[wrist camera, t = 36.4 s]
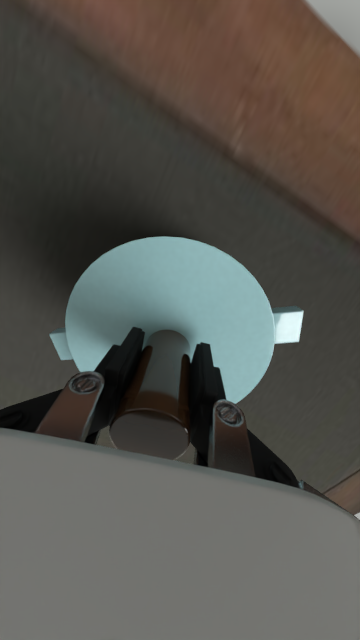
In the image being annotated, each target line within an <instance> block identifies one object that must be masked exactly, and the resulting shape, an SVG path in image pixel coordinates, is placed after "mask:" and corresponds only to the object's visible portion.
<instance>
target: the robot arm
mask: <svg viewBox="0 0 360 640" xmlns="http://www.w3.org/2000/svg"><path fill="white" fill-rule="evenodd" d="M144 336H145V332H144V331H142V329H141V328H137V327H132V329H131V330H130V332H129V333H128V335H127V336H126V338H125V339H124V341H123V342H122V344H121V345H115V344H114V345H112V347H111V348H110V349H109V351H108V352H107V354H106V355H105V356H104V358H103V359H102V360H101V362H100V363H99V364H98V366H97V367H96V369H95V370H94V371H84V372H80V373H78V374H76V375H74V376H72V377H71V379H70V380H69V381H68V382H67V384H66V385H65V387H64V388H63V389H61V390H58V391H55V392H52V393H49V394H46V395H43V396H40V397H37V398H33V399H30V400H27V401H24V402H21V403H18V404H15V405H12V406H9V407H6V408H4V409H1V410H0V640H360V520H359V519H357V518H356V517H355V516H354V515H352V514H351V513H349V512H348V511H346V510H345V509H344V508H342V507H341V506H339V505H338V504H336V503H335V502H333V501H332V500H330V499H329V498H327V497H326V496H325V495H323V494H322V493H320V492H319V491H317V490H316V489H314V488H313V487H311V486H310V485H308V484H307V483H306V482H304V481H303V480H301V481H300V482H299V481H297V479H296V477H295V475H294V474H293V472H292V471H291V469H290V468H289V467H288V466H287V465H286V464H285V463H284V462H283V461H282V460H281V459H280V458H279V457H277V456H276V455H275V454H274V453H273V452H272V451H271V450H270V449H269V448H268V447H267V446H266V445H264V444H263V443H262V442H261V441H260V440H259V439H258V438H257V437H256V436H255V435H254V434H252V433H251V432H250V431H249V430H248V429H247V426H246V420H245V416H244V413H243V412H242V410H241V409H240V408H239V407H238V406H237V405H236V404H234V403H233V402H231V401H228V400H226V395H225V390H224V386H223V381H222V376H221V372H220V368H219V367H214V365H213V359H212V353H211V347H210V344H207V343H203V342H201V343H200V344H197V345H196V348H195V351H194V354H193V358H192V361H191V375H190V442H191V443H192V445H193V446H194V447H195V448H196V449H195V455H194V464H189V463H184V462H179V461H174V460H169V459H164V458H159V457H154V456H149V455H144V454H139V453H134V452H129V451H124V450H119V449H114V448H109V447H104V446H99V445H96V444H97V441H98V438H99V435H100V432H101V429H103V428H105V427H107V426H108V425H109V426H110V424H111V422H112V420H113V417H114V415H115V413H116V410H117V408H118V406H119V403H120V401H121V399H122V396H123V394H124V392H125V389H126V387H127V385H128V383H129V380H130V378H131V376H132V373H133V371H134V369H135V366H136V364H137V362H138V359H139V357H140V355H141V352H142V348H143V342H144Z"/></svg>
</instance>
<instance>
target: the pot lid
mask: <svg viewBox="0 0 360 640" xmlns="http://www.w3.org/2000/svg"><path fill="white" fill-rule="evenodd" d="M132 327H137V328H141V329H142V331H144V332H145V336H144V342H143V348H142V352H141V355H140V357H139V359H138V362H137V364H136V366H135V369H134V371H133V373H132V376H131V378H130V380H129V383H128V385H127V387H126V389H125V392H124V394H123V396H122V399H121V401H120V403H119V406H118V408H117V410H116V413H115V415H114V417H113V420H112V422H111V424H110V429H109V434H110V438H111V441H112V443H113V444H114V446H115V447H116V448H117V449H119V450H124V451H129V452H134V453H139V454H144V455H149V456H154V457H159V458H164V459H169V460H174V459H176V458H178V457H180V456H181V455H182V454H183V453H184V452H185V451H186V450H187V448H188V446H189V443H190V375H191V361H192V358H193V354H194V351H195V348H196V345H197V344H200V343H201V342H203V343H207V344H210V347H211V353H212V359H213V365H214V367H219V368H220V372H221V376H222V381H223V386H224V390H225V395H226V400H228V401H231V402H233V403H234V404H236V403H237V402H239V401H240V400H242V399H243V398H244V397H245V396H246V395H247V394H249V393H250V392H251V391H252V390H253V388H254V387H255V386H256V385H257V384H258V383H259V381H260V380H261V378H262V377H263V375H264V374H265V372H266V370H267V368H268V366H269V363H270V360H271V357H272V354H273V349H274V343H275V324H274V318H273V313H272V310H271V307H270V303H269V301H268V299H267V297H266V295H265V293H264V291H263V289H262V287H261V286H260V285H259V283H258V282H257V280H256V279H255V278H254V276H253V275H252V274H251V273H250V272H249V271H248V270H247V269H246V268H245V267H244V266H243V265H242V264H240V263H239V262H238V261H236V260H235V259H234V258H233V257H231V256H230V255H228V254H226V253H225V252H223V251H221V250H219V249H217V248H216V247H213V246H210V245H208V244H205V243H203V242H200V241H196V240H192V239H187V238H183V237H170V236H160V237H147V238H143V239H138V240H133V241H130V242H127V243H125V244H122V245H120V246H117V247H115V248H113V249H112V250H110V251H108V252H106V253H105V254H103V255H102V256H100V257H99V258H98V259H97V260H95V261H94V262H93V263H92V264H91V265H90V266H89V267H88V268H87V269H86V270H85V271H84V273H83V274H82V275H81V277H80V278H79V280H78V281H77V283H76V284H75V286H74V288H73V291H72V293H71V295H70V298H69V301H68V305H67V309H66V318H65V328H66V337H67V342H68V347H69V350H70V352H71V355H72V358H73V360H74V362H75V364H76V366H77V367H78V369H79V370H80V372H84V371H94V370H95V369H96V367H97V366H98V364H99V363H100V362H101V360H102V359H103V358H104V356H105V355H106V354H107V352H108V351H109V349H110V348H111V347H112V345H114V344H115V345H121V344H122V342H123V341H124V339H125V338H126V336H127V335H128V333H129V332H130V330H131V329H132Z"/></svg>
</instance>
